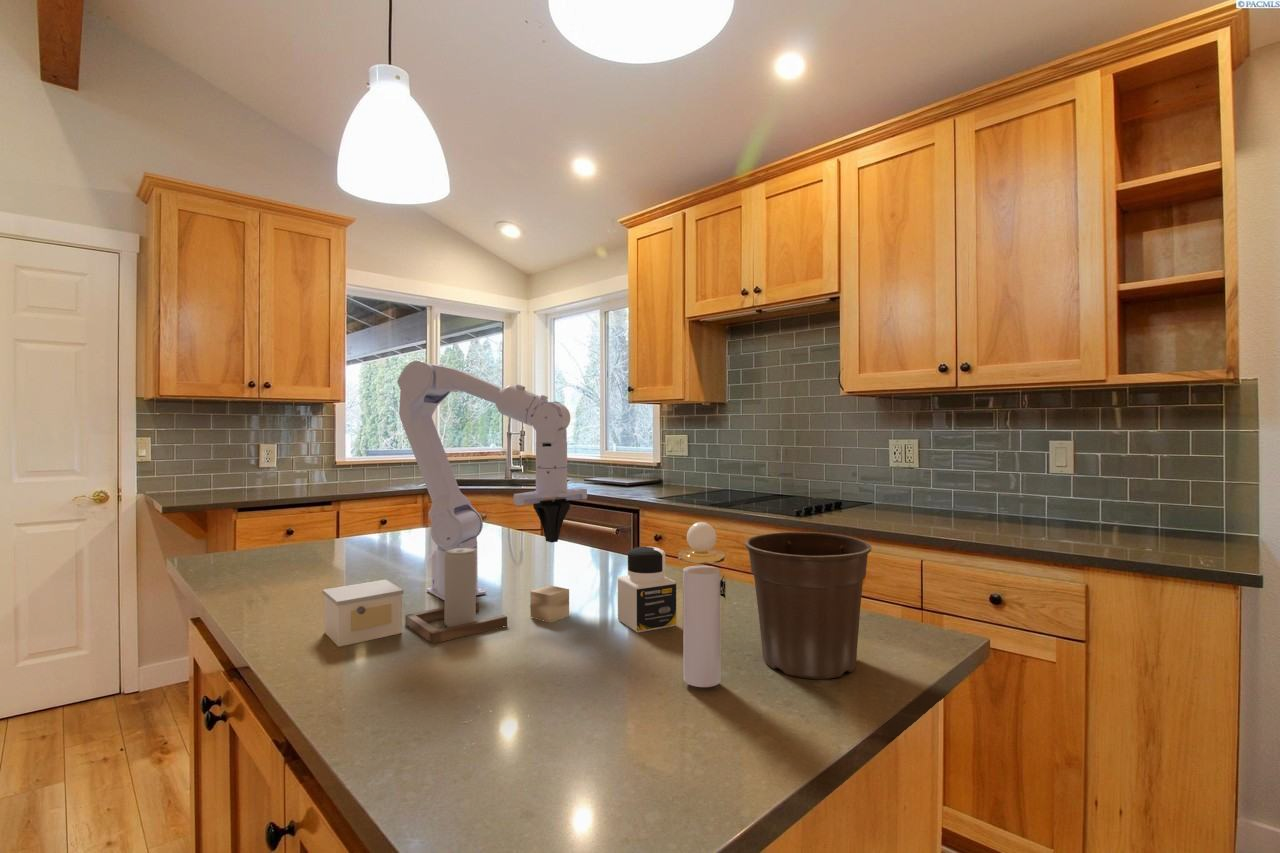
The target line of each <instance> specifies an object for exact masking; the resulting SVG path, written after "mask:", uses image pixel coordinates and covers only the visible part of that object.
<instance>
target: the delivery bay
mask: <svg viewBox="0 0 1280 853" xmlns="http://www.w3.org/2000/svg"><path fill="white" fill-rule="evenodd" d="M479 606H480V603H479V601H477V600H476V611H477V612H479V611H480V608H479ZM444 608H445V606H443V607H438V608H433V609H428V610H424V611H418V612H414V613H409V614H408V613H407V614H405V615H404V616H405V617H404V618H405V620H404V621H405V622H404V623H405V625H406V626H407V627H408V626H409V627H408V628H410V629H411V630H412V631H414V632H415V631H416V633H417V634H419V636H421V637H422V636H423V637H422V638H424V639H425V640H427V642H429V641H430V642H429V643H431V644H432V643H433V645H434V643H435V644H438V642H439V643H442V641H443V642H446V640H447V641H451V640H455V639H459V637H460V638H463V637H468V636H472V635H476V634H479V633H480V632H481V633H484V631H485V632H488V631H493V630H497V629H500V627H501V628H504V627H503V626H506V627H508V616H506V615H505V614H501V615H497V616H493V617H488V618H484V619H483V618H482V619H479V620H475V621H474V622H470V623H465V624H461V625H456V626H452V627H444V628H439V629H437V628H436V627H434V626H432V625H431V624H430V622H434V621H438V619H439V620H443V618H444ZM429 621H430V622H429ZM496 628H497V629H496ZM492 629H493V630H492ZM454 638H455V639H454Z"/></svg>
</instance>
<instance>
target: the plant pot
mask: <svg viewBox="0 0 1280 853" xmlns="http://www.w3.org/2000/svg"><path fill="white" fill-rule="evenodd" d="M744 545H745V548H746V549H747V550H748V554H749V555H748V556H749V561H750V562H749V563H750V571H751V573H752V574H753V578H754V587H755V588H754V589H755V595H756V602H757V603H756V604H757V605H756V606H757V611H758V612H757V613H758V621H759V622H758V623H759V630H760V631H759V632H760V641H761V652H762V659H763V662H764V663H765V664H766V665H767V666H768V667H769V668H771V669H772V670H775V669H780V670H781V671H782V672H783V673H784V674H785V675H788V676H792V677H798V678H802V679H810V680H815V679H816V680H824V679H825V680H826V679H834V678H841V677H842V676H843V675H844V673H846V672H847V673H852V672H853V671H854V670H855V669H856V667H857V658H858V641H859V629H860V618H861V617H860V616H861V605H862V604H861V603H862V595H863V594H862V593H863V582H864V580H865V578H866V577H867V576H866V575H867V565H868V557H869V556H868V554H870V553H871V551H872V545H871V543H869V542H868V541H865V540H863V539H860V538H857V537H853V536H849V535H844V534H837V533H829V532H813V531H812V532H811V531H808V532H807V531H805V532H803V531H783V532H782V531H781V532H780V531H779V532H771V533H770V532H769V533H763V534H757V535H754V536H751V537H749V538H747V539H745V542H744Z"/></svg>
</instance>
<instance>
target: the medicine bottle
mask: <svg viewBox="0 0 1280 853" xmlns="http://www.w3.org/2000/svg"><path fill="white" fill-rule="evenodd" d="M665 575H666V552H665V550H663V549H661V548H659V547H654V546H637V547H634V548H632V549H630V550H629V551H628V552H627V575H624V576H619V577H617V621H619V622H621V623H622V624H624V625H625V626H627V627H628V628H630V629H631V630H633V631H634V632H636V633H637V634H638V633H639V634H640V633H644V632H650V631H654V630H655V631H656V630H660V629H667V628H671V627H675V626H677V581H675V580H674V579H671V578H669V577H667V576H665Z"/></svg>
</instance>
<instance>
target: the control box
mask: <svg viewBox="0 0 1280 853" xmlns="http://www.w3.org/2000/svg"><path fill="white" fill-rule="evenodd" d="M322 594H323V595H324V602H323V603H324V604H323V605H324V634H325V635H327V637H328V638H329V639H331V641H332V642H333V643H334V644H335V645H336V646H337V647H338V648H339V647H346V646H350V645H353V644H358V643H362V642H367V641H372V640H376V639H381V638H385V637H390V636H393V635H399V634H402V633H403V605H402V604H403V596H402V595H403V594H404V589H403V588H401V587H399V586H398V585H396V584H394V583H392V582H391V581H389V580H388V579H387V578H386V579H379V580H375V581H367V582H362V583H356V584H355V583H354V584H349V585H344V586H339V587H338V586H337V587H332V588H331V587H330V588H325V589H322Z"/></svg>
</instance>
